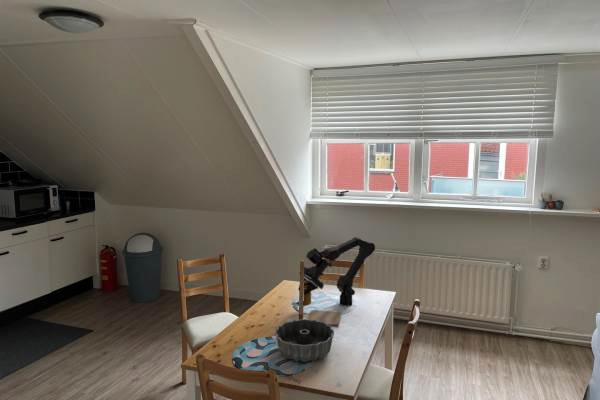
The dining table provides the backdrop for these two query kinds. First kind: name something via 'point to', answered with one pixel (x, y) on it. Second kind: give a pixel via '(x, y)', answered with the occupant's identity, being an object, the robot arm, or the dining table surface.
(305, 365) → the dining table surface
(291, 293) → the dining table surface
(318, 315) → the walnut board
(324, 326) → the bundt pan
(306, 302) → the condiment
